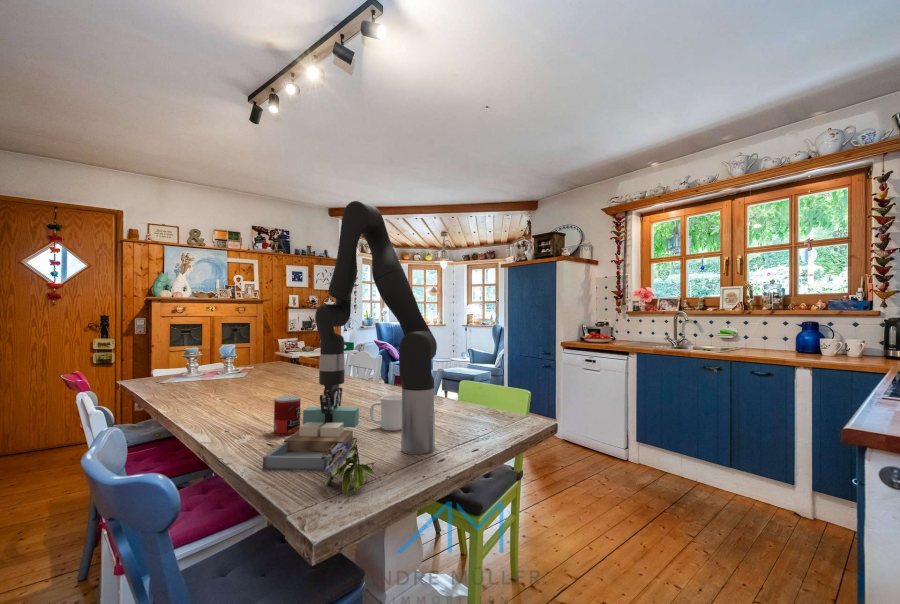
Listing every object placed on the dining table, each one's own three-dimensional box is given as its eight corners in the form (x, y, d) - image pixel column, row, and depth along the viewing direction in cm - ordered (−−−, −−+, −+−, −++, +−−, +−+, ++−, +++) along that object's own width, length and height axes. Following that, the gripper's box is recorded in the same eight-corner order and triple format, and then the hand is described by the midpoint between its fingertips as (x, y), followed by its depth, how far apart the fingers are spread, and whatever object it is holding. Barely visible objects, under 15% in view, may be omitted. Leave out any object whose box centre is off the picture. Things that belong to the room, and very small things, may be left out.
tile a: (343, 431, 113) (343, 422, 113) (337, 436, 108) (337, 427, 108) (326, 431, 113) (326, 422, 113) (320, 436, 108) (320, 427, 108)
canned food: (290, 436, 119) (291, 401, 119) (268, 435, 120) (268, 399, 121) (304, 429, 126) (305, 396, 127) (283, 428, 128) (284, 394, 128)
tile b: (323, 431, 113) (323, 422, 113) (316, 436, 108) (317, 427, 108) (306, 430, 113) (306, 422, 113) (299, 436, 108) (299, 427, 108)
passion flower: (329, 510, 84) (318, 456, 90) (377, 492, 89) (364, 442, 95) (327, 500, 76) (316, 442, 82) (381, 481, 80) (366, 426, 86)
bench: (352, 442, 113) (352, 430, 114) (341, 454, 103) (342, 441, 104) (299, 441, 114) (299, 429, 114) (283, 453, 104) (284, 440, 104)
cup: (407, 429, 127) (407, 398, 127) (370, 432, 123) (371, 401, 123) (403, 423, 134) (403, 393, 135) (368, 425, 131) (368, 395, 131)
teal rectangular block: (358, 423, 120) (358, 407, 120) (354, 427, 116) (355, 410, 116) (308, 423, 120) (308, 407, 120) (302, 426, 116) (303, 410, 116)
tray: (341, 454, 103) (342, 443, 104) (327, 470, 92) (327, 458, 93) (283, 453, 104) (284, 442, 104) (262, 469, 93) (263, 457, 93)
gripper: (336, 371, 111) (335, 431, 111) (350, 365, 126) (350, 418, 125) (310, 371, 112) (310, 431, 111) (328, 365, 126) (327, 418, 125)
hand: (331, 423), depth 118 cm, fingers closed on teal rectangular block, 4 cm apart
